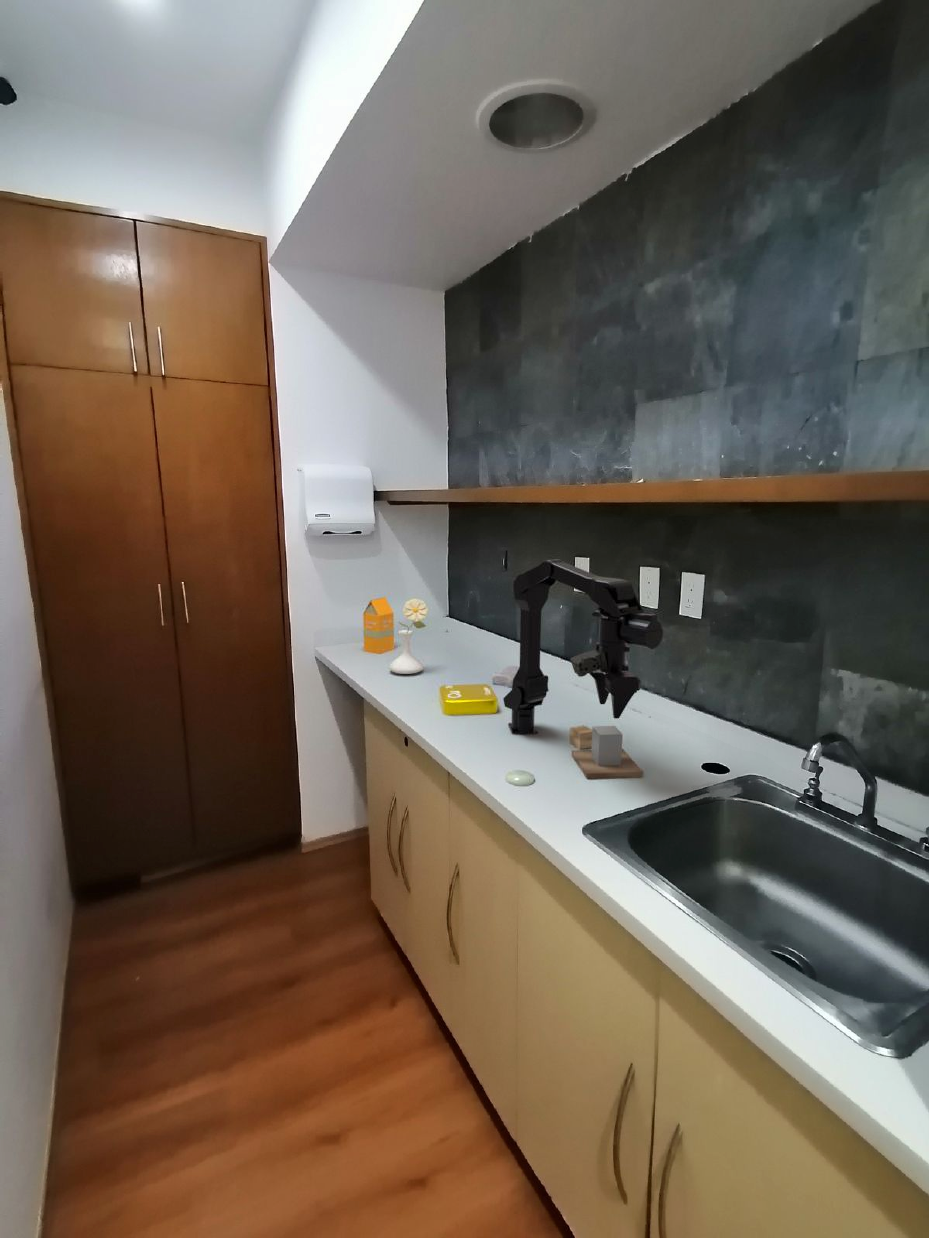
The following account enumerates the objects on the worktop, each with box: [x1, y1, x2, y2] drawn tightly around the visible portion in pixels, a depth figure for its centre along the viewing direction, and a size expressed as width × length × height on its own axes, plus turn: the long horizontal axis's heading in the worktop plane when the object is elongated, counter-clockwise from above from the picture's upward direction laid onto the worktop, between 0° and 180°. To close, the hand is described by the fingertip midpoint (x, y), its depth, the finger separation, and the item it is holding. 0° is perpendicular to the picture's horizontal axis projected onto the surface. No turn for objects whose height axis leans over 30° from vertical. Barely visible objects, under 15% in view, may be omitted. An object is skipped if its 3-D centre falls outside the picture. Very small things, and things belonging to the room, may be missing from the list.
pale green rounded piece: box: [504, 769, 535, 787], centre depth 130 cm, size 6×6×1 cm
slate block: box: [590, 725, 623, 766], centre depth 136 cm, size 5×5×7 cm
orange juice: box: [362, 596, 395, 655], centre depth 236 cm, size 8×9×20 cm
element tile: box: [438, 683, 499, 716], centre depth 175 cm, size 15×15×5 cm
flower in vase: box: [388, 597, 429, 675], centre depth 206 cm, size 13×11×25 cm
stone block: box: [492, 665, 520, 689], centre depth 198 cm, size 12×5×10 cm
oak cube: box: [568, 725, 593, 750], centre depth 148 cm, size 4×4×4 cm
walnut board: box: [571, 748, 644, 780], centre depth 136 cm, size 12×12×1 cm
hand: (609, 710), depth 134 cm, fingers open, 9 cm apart
